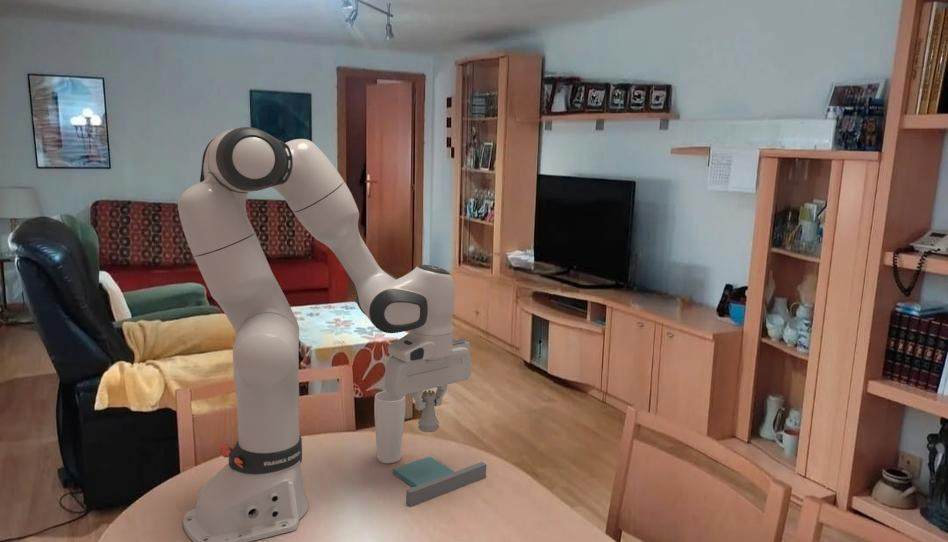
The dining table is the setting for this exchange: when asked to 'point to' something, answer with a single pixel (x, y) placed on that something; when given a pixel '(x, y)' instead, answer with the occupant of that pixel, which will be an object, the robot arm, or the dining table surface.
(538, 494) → the dining table surface
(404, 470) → the coaster
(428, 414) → the rook chess piece
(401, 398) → the drinking glass
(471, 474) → the low wall
